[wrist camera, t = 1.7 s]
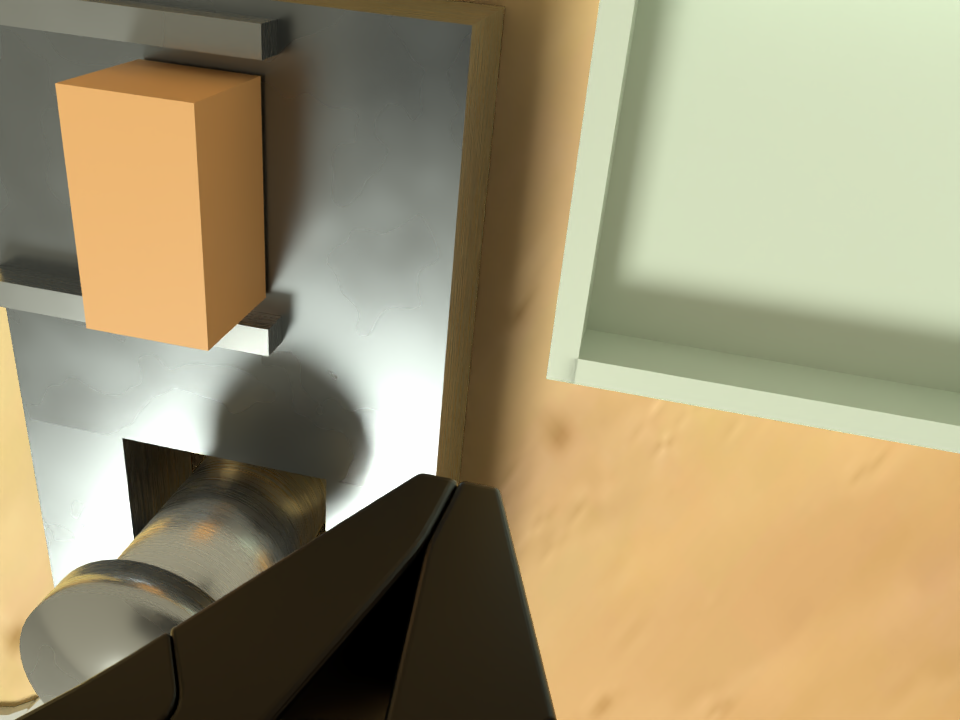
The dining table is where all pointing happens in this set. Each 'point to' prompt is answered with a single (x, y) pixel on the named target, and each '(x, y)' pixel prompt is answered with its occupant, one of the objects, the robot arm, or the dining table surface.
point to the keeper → (166, 198)
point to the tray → (771, 213)
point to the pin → (170, 569)
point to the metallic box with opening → (288, 257)
